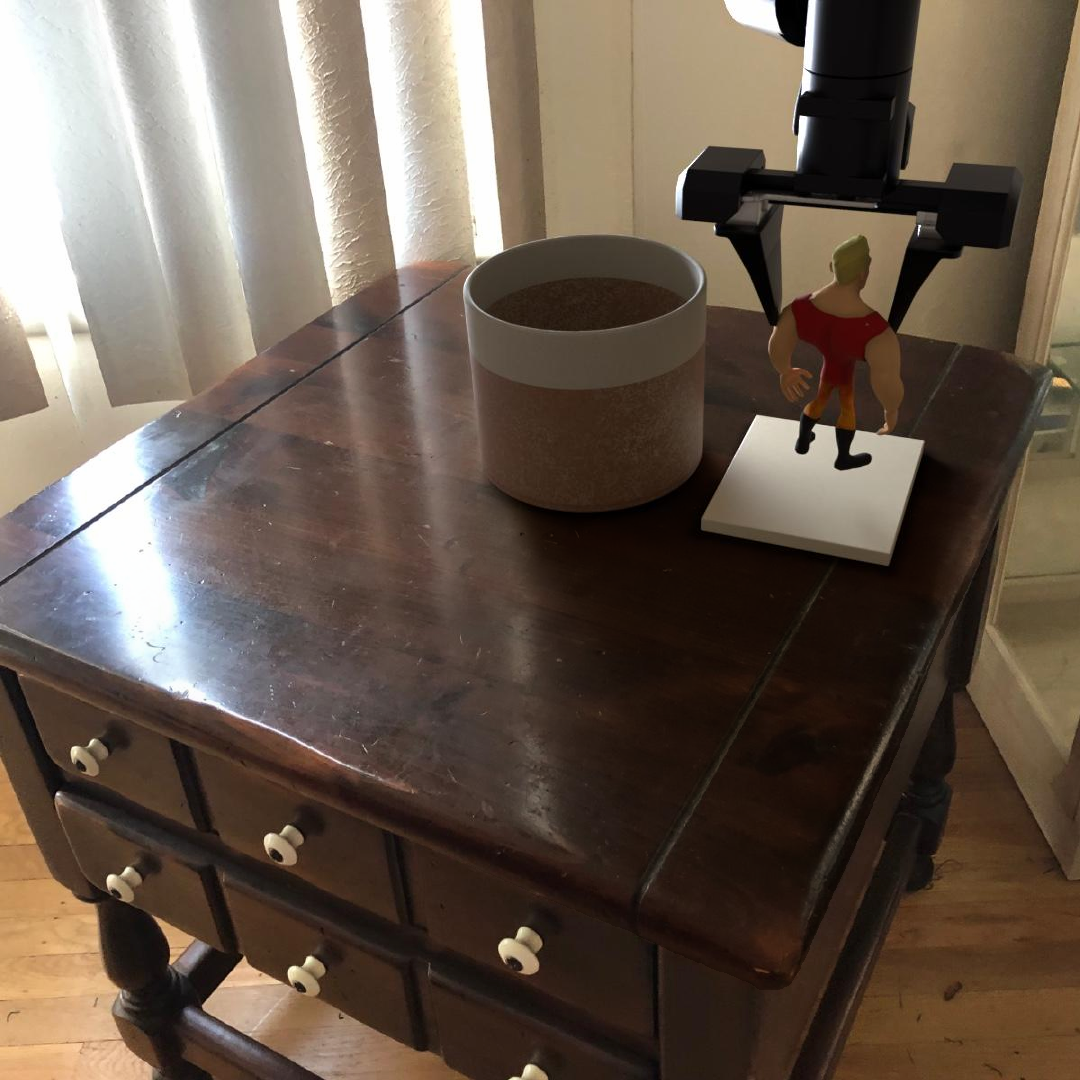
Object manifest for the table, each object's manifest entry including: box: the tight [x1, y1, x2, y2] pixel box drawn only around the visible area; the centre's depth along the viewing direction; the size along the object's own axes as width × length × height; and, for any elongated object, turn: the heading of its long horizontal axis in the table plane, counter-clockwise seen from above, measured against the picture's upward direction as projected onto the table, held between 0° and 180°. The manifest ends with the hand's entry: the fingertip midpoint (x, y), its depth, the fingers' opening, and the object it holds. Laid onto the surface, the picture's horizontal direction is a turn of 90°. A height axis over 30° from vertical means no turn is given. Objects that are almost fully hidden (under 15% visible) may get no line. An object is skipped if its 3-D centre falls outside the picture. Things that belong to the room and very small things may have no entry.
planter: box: [463, 233, 708, 514], centre depth 79 cm, size 16×16×14 cm
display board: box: [700, 414, 926, 567], centre depth 78 cm, size 12×14×1 cm
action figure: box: [767, 234, 905, 471], centre depth 71 cm, size 10×4×15 cm, turn 46°
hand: (832, 330), depth 71 cm, fingers closed on action figure, 7 cm apart
